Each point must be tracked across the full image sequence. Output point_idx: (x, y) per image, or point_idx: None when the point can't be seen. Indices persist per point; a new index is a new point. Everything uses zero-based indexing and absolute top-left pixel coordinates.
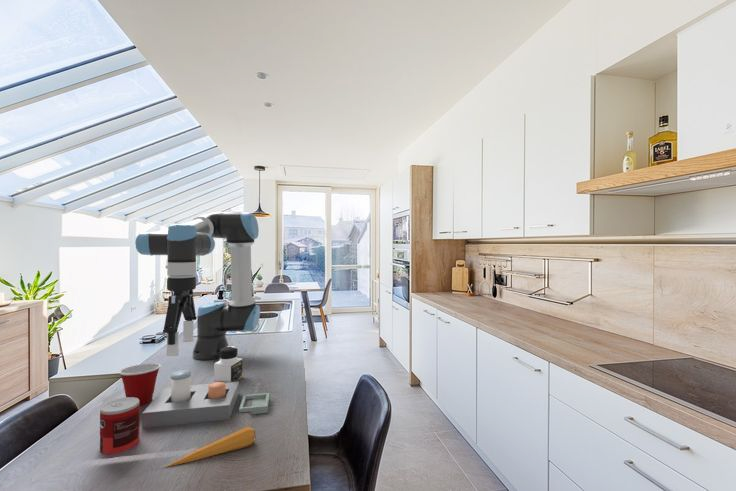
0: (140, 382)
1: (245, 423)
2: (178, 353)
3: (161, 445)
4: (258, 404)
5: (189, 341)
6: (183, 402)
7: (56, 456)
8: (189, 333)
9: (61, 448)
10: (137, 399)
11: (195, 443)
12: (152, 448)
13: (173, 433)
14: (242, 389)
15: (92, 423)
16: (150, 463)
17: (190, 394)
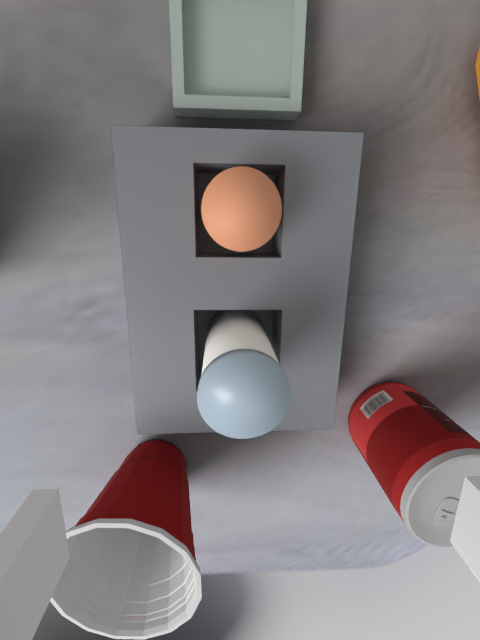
0: (186, 524)
1: (358, 85)
2: (475, 485)
3: (403, 325)
4: (243, 32)
5: (61, 514)
6: (289, 327)
7: (371, 517)
8: (9, 607)
9: (342, 525)
10: (439, 468)
11: (426, 235)
12: (410, 342)
13: (351, 314)
14: (55, 138)
15: (241, 524)
16: (475, 322)
17: (230, 321)
